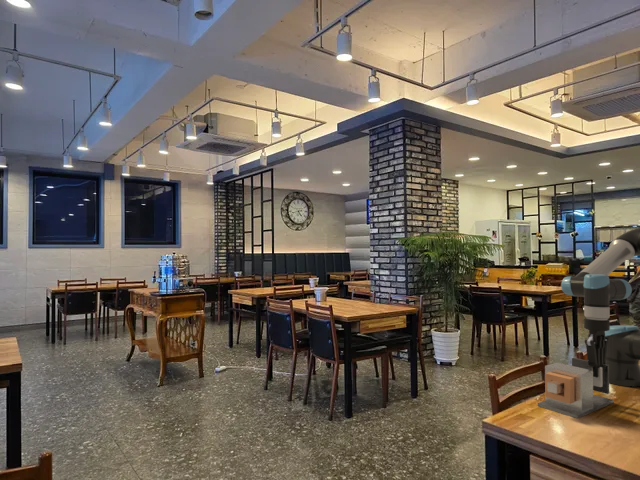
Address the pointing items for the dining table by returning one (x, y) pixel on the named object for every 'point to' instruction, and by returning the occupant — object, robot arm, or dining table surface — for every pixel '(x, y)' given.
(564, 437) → the dining table surface
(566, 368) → the block
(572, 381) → the block
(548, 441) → the dining table surface
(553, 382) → the grey crossbar bracket
